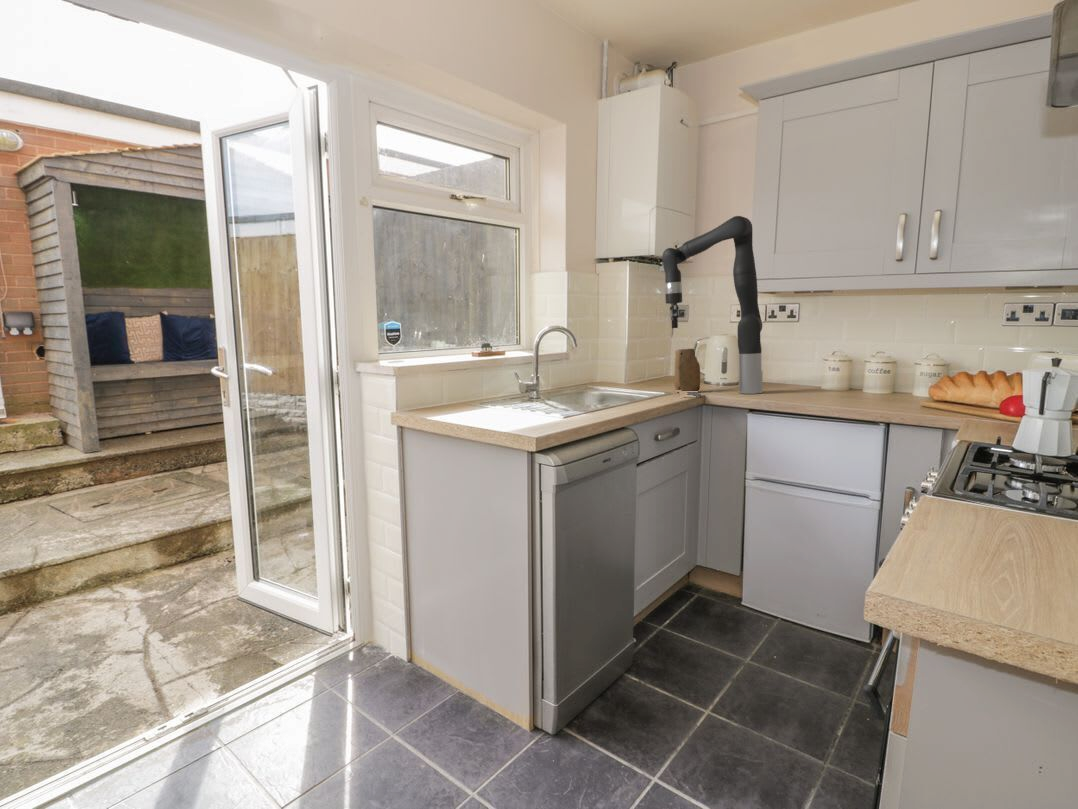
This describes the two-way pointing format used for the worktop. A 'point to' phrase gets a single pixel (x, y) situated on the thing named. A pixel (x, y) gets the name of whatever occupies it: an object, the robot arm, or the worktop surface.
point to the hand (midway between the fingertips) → (674, 328)
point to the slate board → (694, 394)
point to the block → (686, 370)
